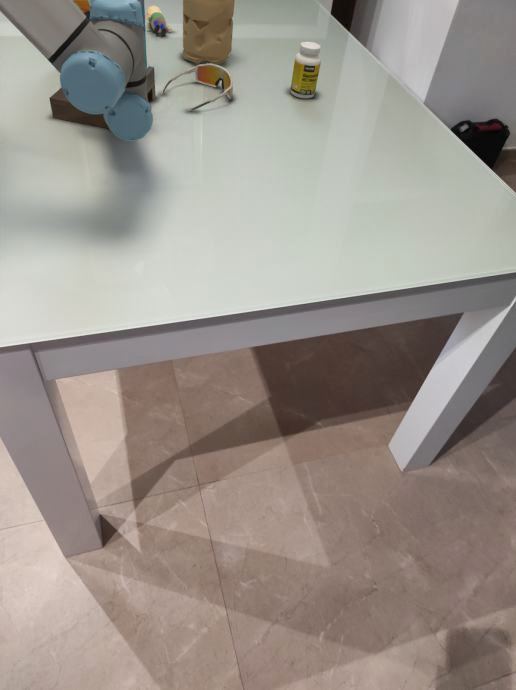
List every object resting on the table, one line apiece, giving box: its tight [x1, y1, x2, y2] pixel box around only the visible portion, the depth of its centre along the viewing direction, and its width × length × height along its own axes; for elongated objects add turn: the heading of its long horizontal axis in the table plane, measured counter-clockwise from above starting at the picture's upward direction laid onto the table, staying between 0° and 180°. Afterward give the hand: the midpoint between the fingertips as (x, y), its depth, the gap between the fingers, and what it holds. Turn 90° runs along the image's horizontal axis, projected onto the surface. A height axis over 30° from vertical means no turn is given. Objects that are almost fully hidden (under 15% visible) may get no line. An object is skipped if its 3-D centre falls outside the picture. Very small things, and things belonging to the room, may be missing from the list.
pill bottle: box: [289, 41, 322, 99], centre depth 123 cm, size 6×6×11 cm
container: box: [182, 0, 236, 65], centre depth 128 cm, size 13×13×18 cm
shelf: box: [49, 65, 156, 129], centre depth 108 cm, size 16×18×6 cm
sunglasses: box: [160, 62, 234, 112], centre depth 118 cm, size 14×15×5 cm
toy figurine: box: [145, 5, 173, 38], centre depth 144 cm, size 8×4×12 cm
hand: (96, 36), depth 105 cm, fingers closed on supplement bottle, 7 cm apart
